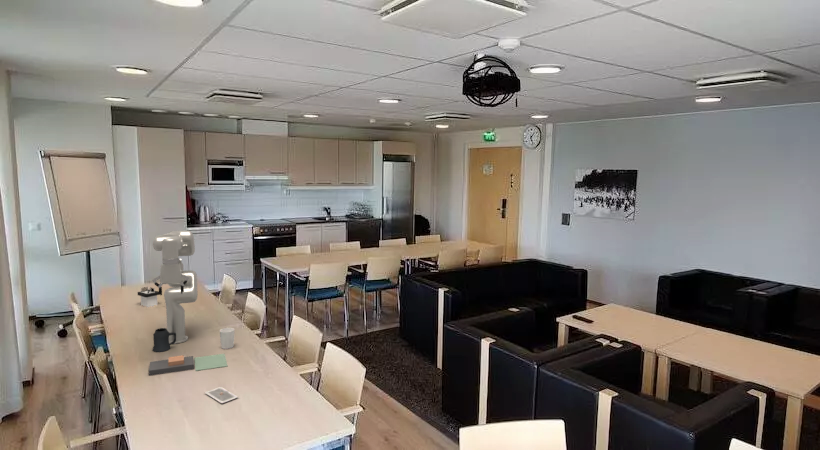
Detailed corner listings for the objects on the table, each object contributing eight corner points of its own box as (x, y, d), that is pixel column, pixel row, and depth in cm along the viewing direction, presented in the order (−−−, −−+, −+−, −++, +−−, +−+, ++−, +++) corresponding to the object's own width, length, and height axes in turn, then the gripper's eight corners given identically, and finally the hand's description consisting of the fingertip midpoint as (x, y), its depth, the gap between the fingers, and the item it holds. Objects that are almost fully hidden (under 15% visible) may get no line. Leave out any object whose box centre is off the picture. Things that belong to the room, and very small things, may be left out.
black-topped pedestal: (177, 304, 353) (176, 287, 352) (141, 313, 331) (140, 294, 330) (155, 298, 368) (155, 282, 366) (120, 306, 346) (119, 288, 344)
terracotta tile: (168, 360, 243) (168, 357, 242) (183, 358, 246) (183, 355, 245) (168, 366, 236) (168, 362, 236) (184, 363, 239) (183, 360, 239)
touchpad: (221, 405, 204) (221, 400, 204) (204, 394, 213) (204, 390, 213) (238, 399, 210) (238, 394, 210) (220, 389, 219) (220, 384, 219)
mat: (194, 358, 253) (194, 357, 253) (224, 354, 260) (224, 353, 260) (195, 371, 237) (195, 370, 237) (227, 366, 244) (227, 365, 243)
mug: (152, 353, 258) (151, 333, 257) (152, 347, 266) (151, 328, 265) (177, 349, 264) (176, 330, 263) (175, 344, 272) (175, 325, 271)
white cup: (219, 349, 266) (218, 332, 265) (220, 345, 273) (220, 328, 272) (234, 348, 268) (233, 331, 267) (235, 344, 275) (235, 327, 274)
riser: (150, 366, 241) (150, 361, 241) (193, 360, 250) (193, 355, 250) (148, 375, 231) (148, 370, 230) (194, 369, 239) (194, 364, 239)
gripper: (188, 259, 256) (189, 291, 257) (151, 261, 248) (153, 294, 249) (189, 261, 249) (189, 294, 251) (151, 263, 241) (152, 297, 243)
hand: (171, 294), depth 250 cm, fingers open, 9 cm apart
